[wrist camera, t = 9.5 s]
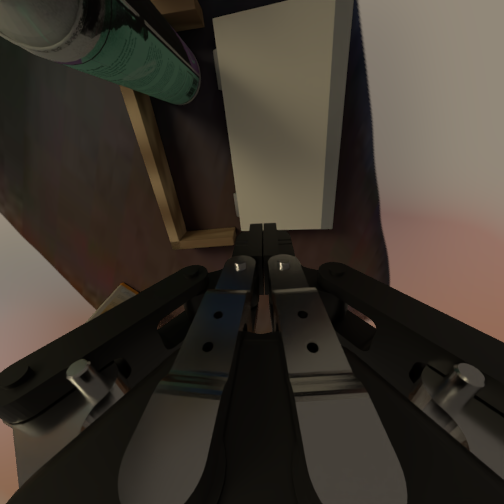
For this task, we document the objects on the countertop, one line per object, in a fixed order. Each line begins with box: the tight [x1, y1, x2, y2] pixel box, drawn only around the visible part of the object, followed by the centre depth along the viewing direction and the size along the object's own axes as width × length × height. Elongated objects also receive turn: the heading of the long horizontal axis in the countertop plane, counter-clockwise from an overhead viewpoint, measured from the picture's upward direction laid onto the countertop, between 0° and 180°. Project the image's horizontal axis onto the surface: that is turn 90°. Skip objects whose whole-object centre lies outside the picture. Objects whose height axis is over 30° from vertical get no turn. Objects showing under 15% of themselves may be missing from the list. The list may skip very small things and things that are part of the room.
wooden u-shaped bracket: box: [120, 0, 236, 250], centre depth 25 cm, size 24×9×4 cm, turn 6°
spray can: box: [0, 0, 201, 105], centre depth 14 cm, size 6×6×20 cm
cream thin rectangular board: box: [212, 0, 354, 231], centre depth 23 cm, size 21×2×13 cm
